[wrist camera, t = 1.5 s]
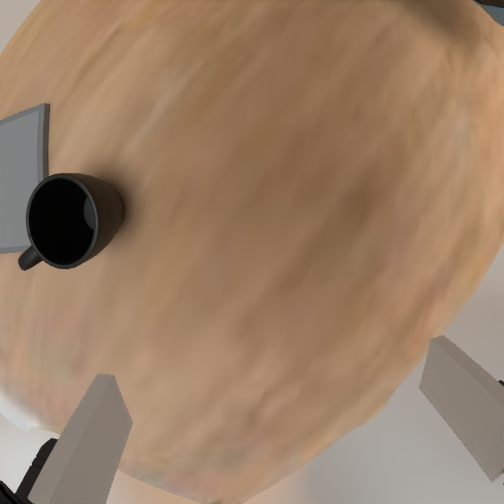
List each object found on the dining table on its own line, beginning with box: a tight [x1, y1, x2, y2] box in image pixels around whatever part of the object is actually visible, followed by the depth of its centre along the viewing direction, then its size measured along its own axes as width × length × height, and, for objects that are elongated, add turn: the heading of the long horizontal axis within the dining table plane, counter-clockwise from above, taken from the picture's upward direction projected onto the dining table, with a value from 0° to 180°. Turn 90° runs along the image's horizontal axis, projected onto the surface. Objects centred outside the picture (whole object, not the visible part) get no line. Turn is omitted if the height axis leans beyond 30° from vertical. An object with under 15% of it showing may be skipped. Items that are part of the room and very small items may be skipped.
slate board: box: [0, 103, 50, 254], centre depth 28 cm, size 18×14×1 cm
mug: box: [18, 173, 124, 271], centre depth 26 cm, size 8×12×10 cm
